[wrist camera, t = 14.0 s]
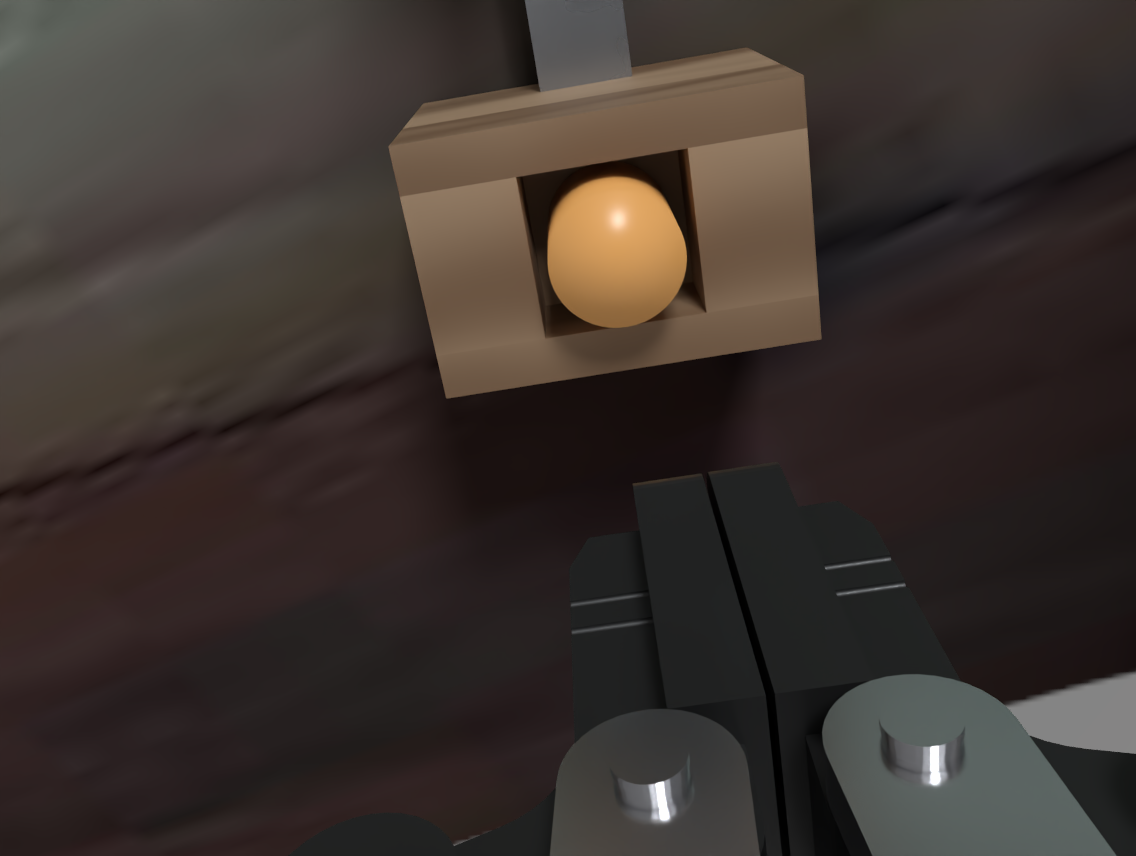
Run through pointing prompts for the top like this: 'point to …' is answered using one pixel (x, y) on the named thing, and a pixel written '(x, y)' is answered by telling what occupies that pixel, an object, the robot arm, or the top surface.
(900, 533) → the top surface
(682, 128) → the stand
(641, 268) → the button
